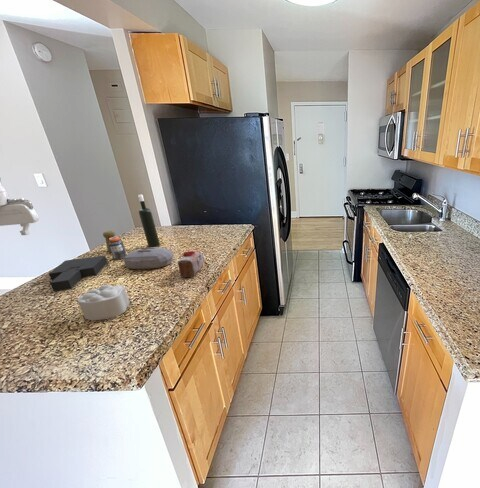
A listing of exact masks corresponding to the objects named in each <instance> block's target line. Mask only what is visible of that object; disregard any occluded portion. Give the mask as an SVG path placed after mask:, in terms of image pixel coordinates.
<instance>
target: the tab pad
mask: <svg viewBox="0 0 480 488" xmlns="http://www.w3.org/2000/svg"><path fill="white" fill-rule="evenodd" d="M78 268H79V267H78ZM78 268H70V269H69V270H68V271H66V272H62V273H61V274H60V275H59V276H57V277H56V278H55V279H54V280H53V281H52V280H51V281H50V282H49V285H50V287H51V289H52V291H53V292H58V291H65V290H70V289H73V288H74V287H75V286H76V285H77V284H78V283H79V282H80V281H81V280H82V279H83V278H84V277H82V274H81V272H80V270H77V269H78Z"/></svg>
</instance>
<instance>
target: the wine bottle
mask: <svg viewBox="0 0 480 488" xmlns="http://www.w3.org/2000/svg"><path fill="white" fill-rule="evenodd" d="M137 198H138V201H139V203H140V207H141V208H140V209H139V210H138V216H139V219H140V222H141V226H142V229H143V232H144V233H143V234H144V236H145V239H146V243H147V246H148V248H151V247H158V246H159V247H160V244H161V243H160V240H159V236H158V231H157V227H156V224H155V220H154V217H153V213H152V210H151V209H150V208H148V207H146V202H145V198H144V195H143V194H138V196H137Z"/></svg>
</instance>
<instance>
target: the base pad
mask: <svg viewBox="0 0 480 488" xmlns="http://www.w3.org/2000/svg"><path fill="white" fill-rule="evenodd" d="M108 263H109V262H108V260H107V257H106V255H99V256H98V255H97V256H91V257H82V258H75V259H67V260H64V261H63V262H62V263H60V264H58V265H57V266H56V267H55V268H53V269H52V270H51V271H50V272H48V275H49V278H50V280H51V281H53V280H54V279H55V278H56V277H57V276H59V275H60V274H61V273H62V272H66V271H68V270H69V269H70V268H78V267H79V268H78V269H77V270H80V272H81V274H82V277H83V278H88V277H93V276H94V277H95V276H97V275H98V274H99V273H100V272H101V271H102V270H103V268H105V266H107V264H108Z"/></svg>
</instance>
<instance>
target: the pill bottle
mask: <svg viewBox="0 0 480 488" xmlns="http://www.w3.org/2000/svg"><path fill="white" fill-rule="evenodd" d="M109 241H110V242H109V244H108V245H109V248H110V250H111V252H110V253H111V256H112V258H113V260H114V261H115V260H117V261H118V260H124V259H125V257H126V255H128V253H127V251H126V248H125V244H124V242H123V240H120V237H119V236H115V237H111V238H109Z"/></svg>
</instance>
